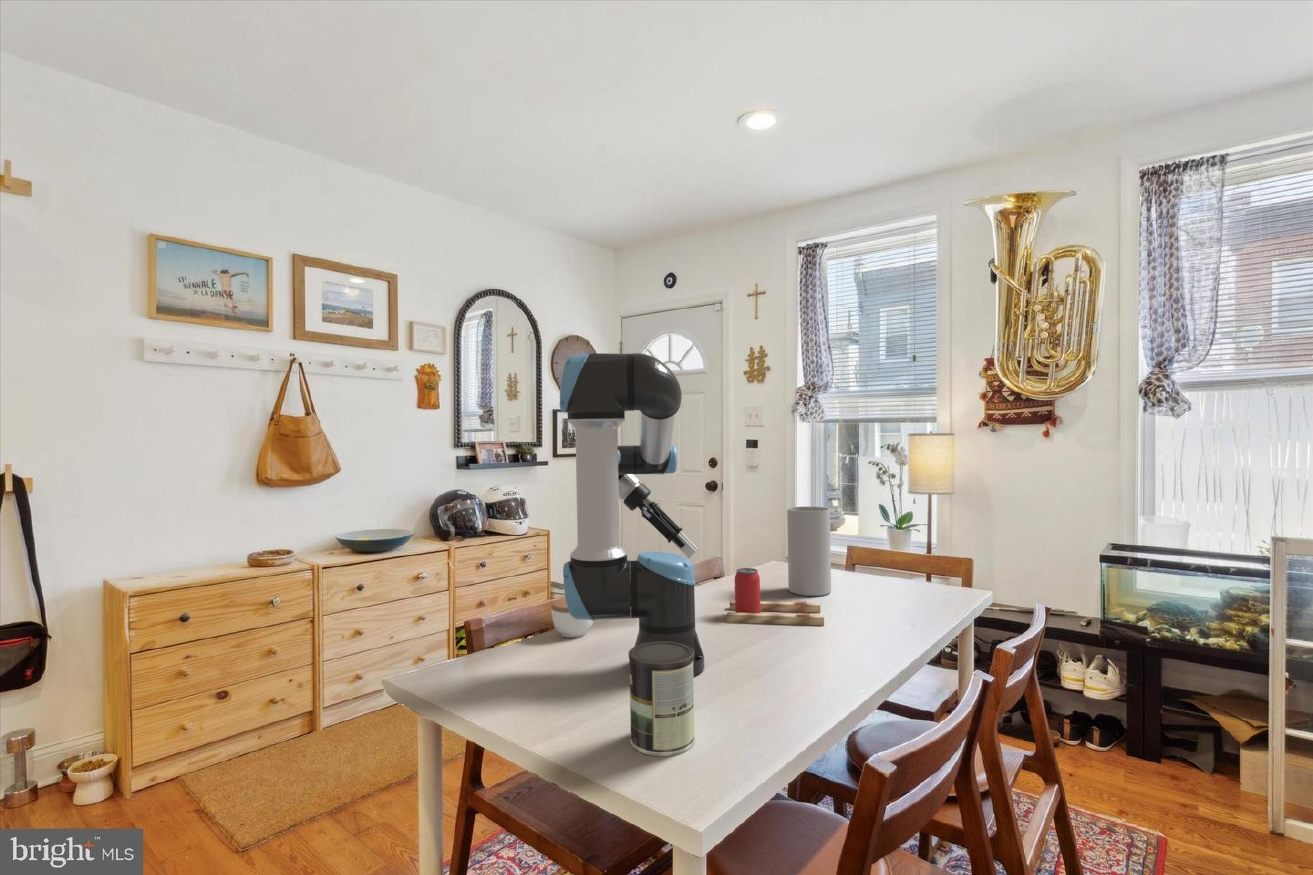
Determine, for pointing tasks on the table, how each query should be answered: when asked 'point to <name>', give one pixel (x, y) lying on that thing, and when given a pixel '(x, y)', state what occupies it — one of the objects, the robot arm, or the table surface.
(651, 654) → the coffee can
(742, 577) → the beer can
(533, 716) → the table surface
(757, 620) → the channel
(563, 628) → the lidded jar
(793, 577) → the cylinder vase
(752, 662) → the table surface
